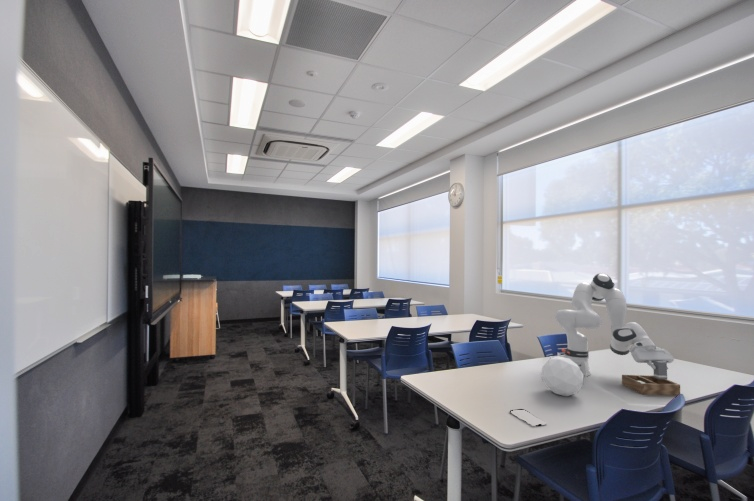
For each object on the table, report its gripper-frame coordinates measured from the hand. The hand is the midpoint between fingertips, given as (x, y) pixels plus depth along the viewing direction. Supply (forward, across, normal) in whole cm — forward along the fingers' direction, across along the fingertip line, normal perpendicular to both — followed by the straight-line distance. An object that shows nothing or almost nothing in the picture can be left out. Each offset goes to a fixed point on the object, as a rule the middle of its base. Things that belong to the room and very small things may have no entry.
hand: (660, 369), depth 189 cm
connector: (+3, 0, -4) cm, 5 cm away
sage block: (+7, +11, -9) cm, 16 cm away
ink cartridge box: (-7, +47, -23) cm, 53 cm away
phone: (+34, +89, +14) cm, 96 cm away
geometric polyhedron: (+12, +57, -6) cm, 59 cm away
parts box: (+7, +5, -10) cm, 13 cm away
